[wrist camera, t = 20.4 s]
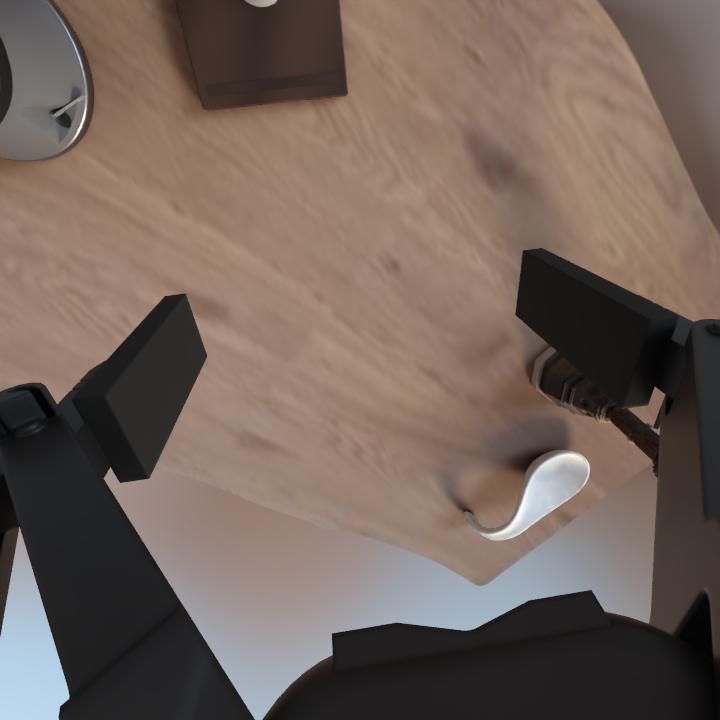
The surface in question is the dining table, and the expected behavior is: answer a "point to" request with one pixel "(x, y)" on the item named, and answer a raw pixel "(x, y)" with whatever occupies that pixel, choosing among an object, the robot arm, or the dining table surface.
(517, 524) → the spoon rest
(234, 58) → the serving board
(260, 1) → the chalice
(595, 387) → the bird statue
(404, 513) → the dining table surface
